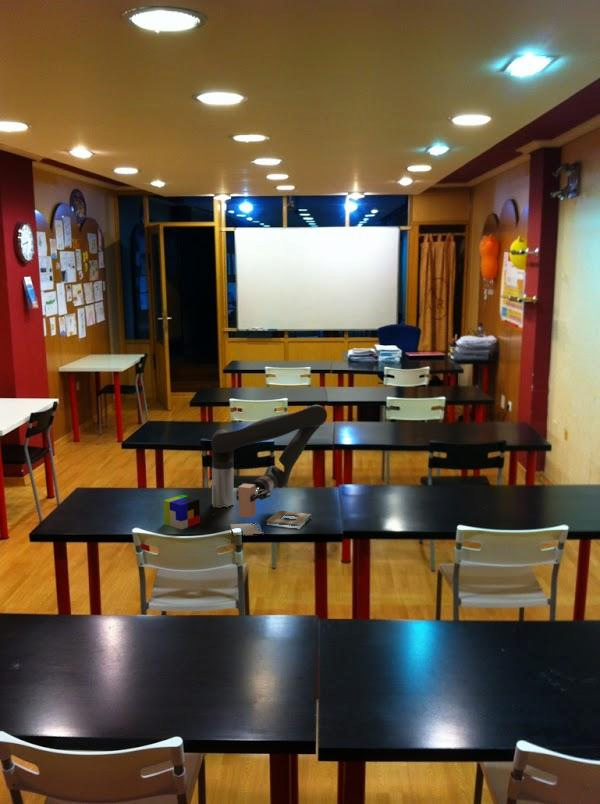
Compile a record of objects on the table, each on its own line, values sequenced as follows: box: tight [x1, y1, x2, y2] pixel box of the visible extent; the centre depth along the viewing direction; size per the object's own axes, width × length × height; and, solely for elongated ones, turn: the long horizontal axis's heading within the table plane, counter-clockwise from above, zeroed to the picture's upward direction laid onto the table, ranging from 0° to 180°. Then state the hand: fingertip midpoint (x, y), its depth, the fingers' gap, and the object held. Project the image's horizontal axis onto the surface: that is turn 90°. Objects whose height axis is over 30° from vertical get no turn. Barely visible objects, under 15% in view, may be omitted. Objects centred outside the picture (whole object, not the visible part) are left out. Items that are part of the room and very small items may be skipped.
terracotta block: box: [237, 483, 257, 519], centre depth 278 cm, size 5×5×12 cm
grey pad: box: [229, 522, 264, 537], centre depth 280 cm, size 12×12×1 cm
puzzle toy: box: [163, 494, 201, 530], centre depth 286 cm, size 10×10×10 cm
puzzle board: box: [266, 509, 312, 526], centre depth 289 cm, size 14×14×2 cm
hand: (244, 498), depth 275 cm, fingers closed on terracotta block, 5 cm apart
